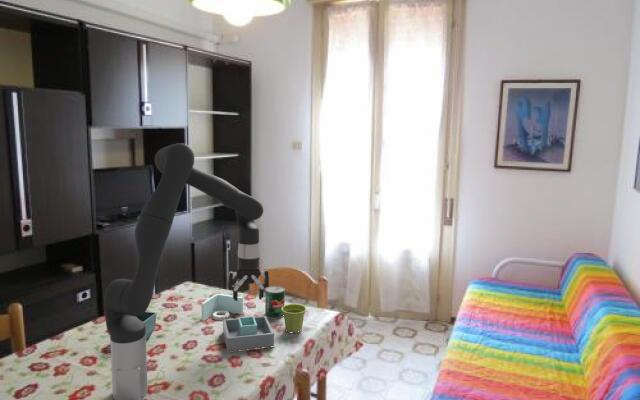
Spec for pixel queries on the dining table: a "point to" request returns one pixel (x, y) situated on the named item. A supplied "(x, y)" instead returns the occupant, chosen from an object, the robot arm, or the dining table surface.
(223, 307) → the right angle wall
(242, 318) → the teal crate
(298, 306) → the plant pot
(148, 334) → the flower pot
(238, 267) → the robot arm
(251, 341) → the grey open tray
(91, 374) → the dining table surface
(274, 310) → the canned tomato
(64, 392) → the dining table surface
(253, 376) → the dining table surface
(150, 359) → the dining table surface
